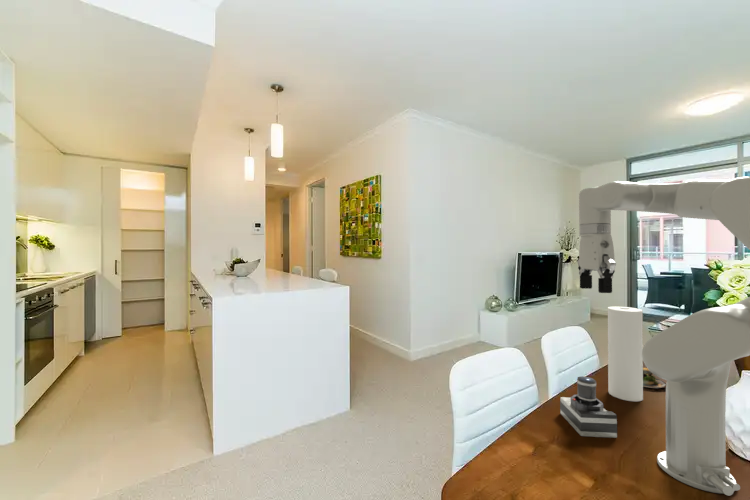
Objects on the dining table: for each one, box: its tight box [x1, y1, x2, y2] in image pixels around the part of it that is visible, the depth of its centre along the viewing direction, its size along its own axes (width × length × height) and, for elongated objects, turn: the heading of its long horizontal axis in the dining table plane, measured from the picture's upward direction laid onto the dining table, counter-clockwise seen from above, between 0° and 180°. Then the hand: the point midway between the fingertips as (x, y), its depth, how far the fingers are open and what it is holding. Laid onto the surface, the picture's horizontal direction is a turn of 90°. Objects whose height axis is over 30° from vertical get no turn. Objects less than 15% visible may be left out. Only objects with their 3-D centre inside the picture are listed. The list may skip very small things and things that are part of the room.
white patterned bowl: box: [643, 365, 667, 390], centre depth 120 cm, size 12×12×8 cm
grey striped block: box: [559, 394, 618, 439], centre depth 93 cm, size 12×9×7 cm
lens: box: [576, 376, 597, 405], centre depth 93 cm, size 5×5×8 cm
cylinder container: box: [607, 305, 644, 402], centre depth 111 cm, size 9×9×30 cm
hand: (595, 290), depth 94 cm, fingers open, 9 cm apart
